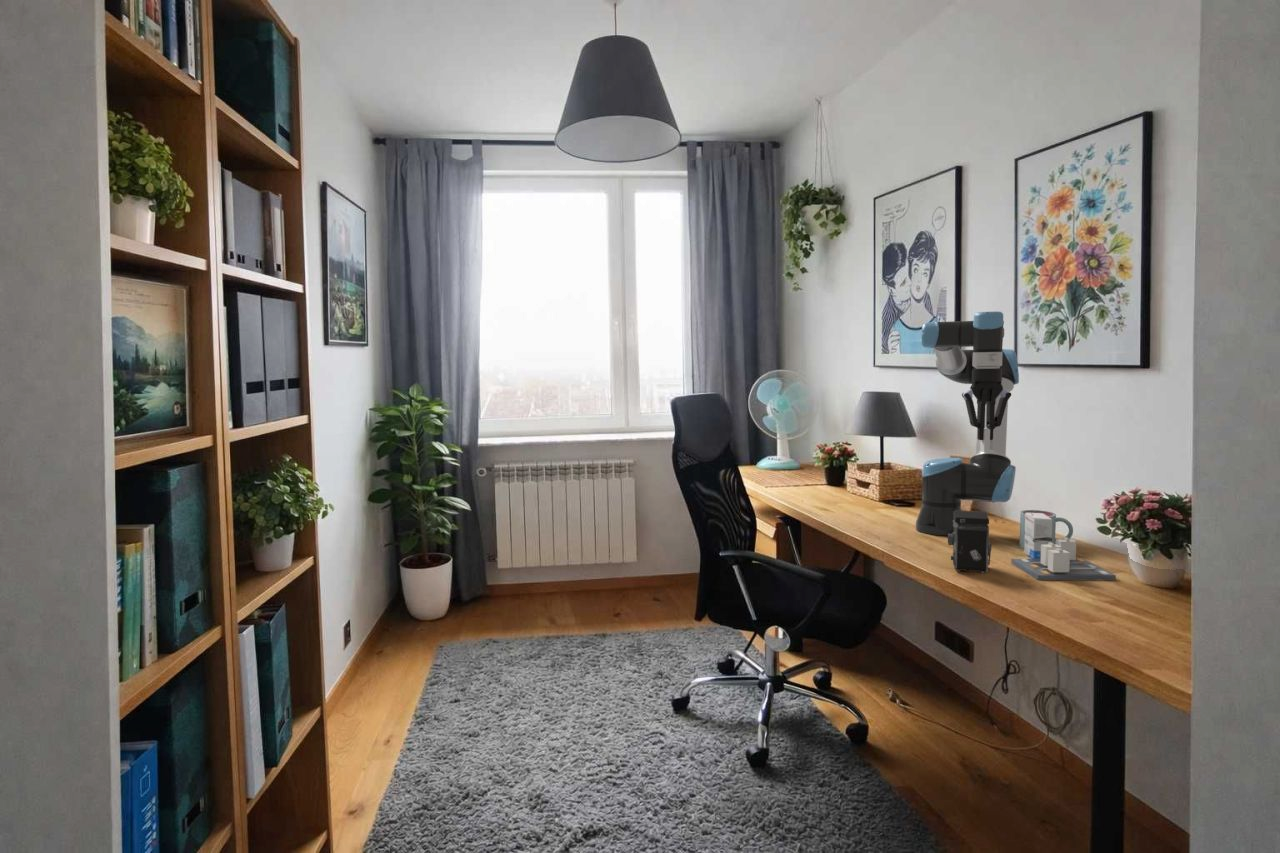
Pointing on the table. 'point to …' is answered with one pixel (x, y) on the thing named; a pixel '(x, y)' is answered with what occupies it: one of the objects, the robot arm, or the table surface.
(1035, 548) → the ink box
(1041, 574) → the grey flat board
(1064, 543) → the tab
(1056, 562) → the tab
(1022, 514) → the mug
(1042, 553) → the tab
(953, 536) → the camera
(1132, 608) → the table surface
